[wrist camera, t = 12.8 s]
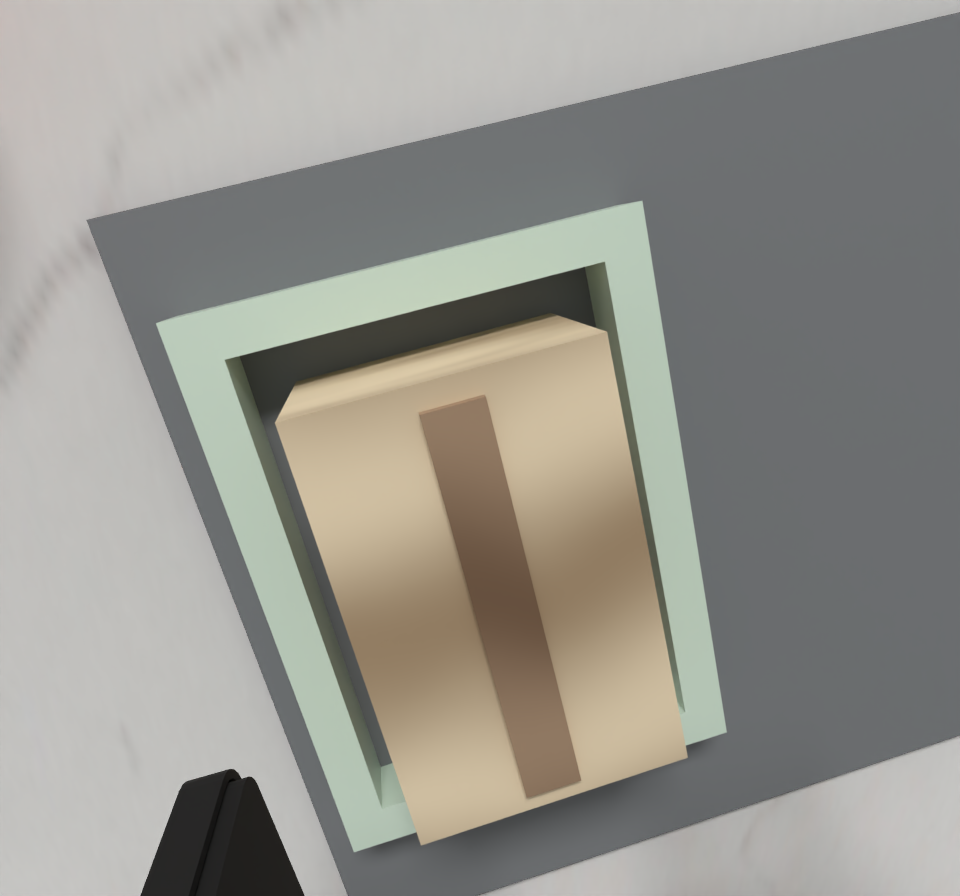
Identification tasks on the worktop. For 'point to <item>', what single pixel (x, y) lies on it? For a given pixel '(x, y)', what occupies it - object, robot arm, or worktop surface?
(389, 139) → the worktop surface
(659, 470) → the tray frame
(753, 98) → the rubber mat
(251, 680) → the worktop surface
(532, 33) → the worktop surface
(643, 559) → the wooden block
